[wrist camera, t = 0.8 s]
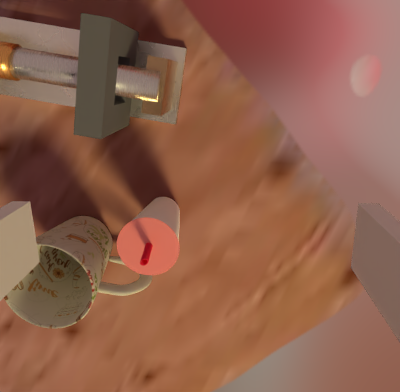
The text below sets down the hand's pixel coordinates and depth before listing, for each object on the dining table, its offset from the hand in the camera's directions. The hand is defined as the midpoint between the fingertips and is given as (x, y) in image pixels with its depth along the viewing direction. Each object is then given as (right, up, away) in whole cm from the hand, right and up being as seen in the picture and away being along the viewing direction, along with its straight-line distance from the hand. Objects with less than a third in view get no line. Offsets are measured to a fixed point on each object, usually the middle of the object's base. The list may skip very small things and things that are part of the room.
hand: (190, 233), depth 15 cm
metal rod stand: (-11, +14, +22) cm, 28 cm away
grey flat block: (-7, +12, +19) cm, 23 cm away
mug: (-10, -4, +27) cm, 29 cm away
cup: (-3, 0, +26) cm, 26 cm away
